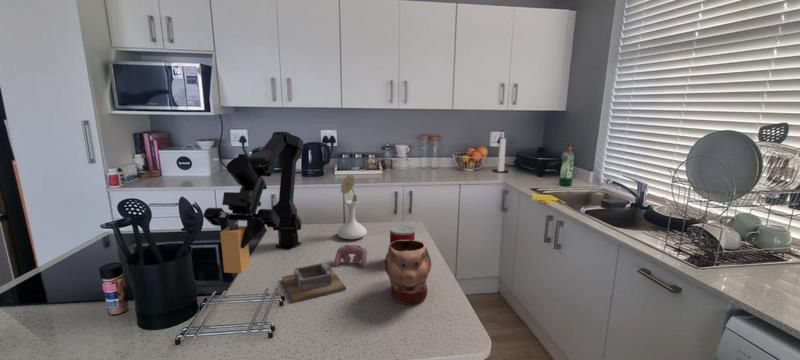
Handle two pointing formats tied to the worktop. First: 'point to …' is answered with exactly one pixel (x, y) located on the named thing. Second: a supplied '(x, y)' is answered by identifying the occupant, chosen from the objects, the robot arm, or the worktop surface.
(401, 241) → the decorative planter
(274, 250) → the worktop surface
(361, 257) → the video game controller
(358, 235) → the flower in vase
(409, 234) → the canned food
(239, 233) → the plug
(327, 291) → the holder
